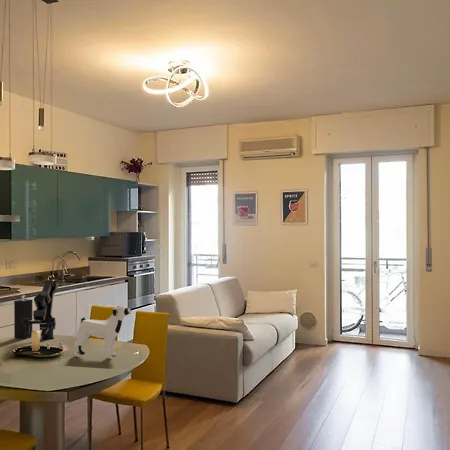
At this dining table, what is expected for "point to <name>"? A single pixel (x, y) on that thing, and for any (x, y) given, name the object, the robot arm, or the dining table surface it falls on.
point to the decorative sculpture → (101, 330)
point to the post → (35, 340)
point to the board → (61, 346)
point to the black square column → (22, 317)
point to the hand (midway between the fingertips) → (36, 334)
